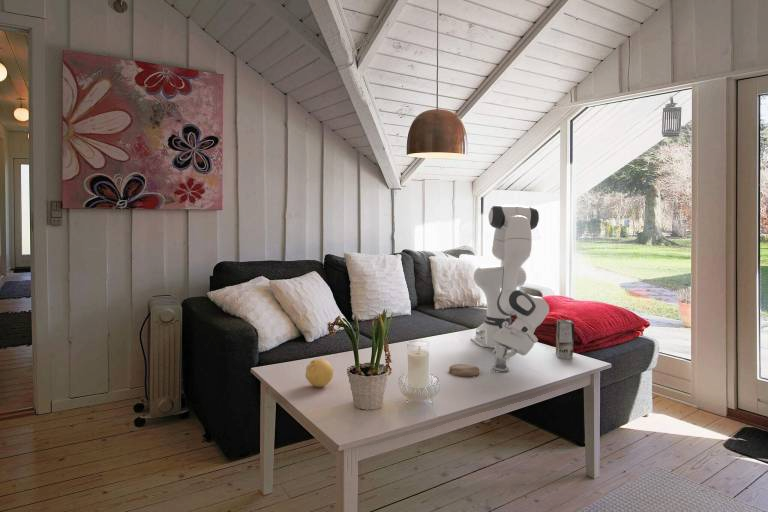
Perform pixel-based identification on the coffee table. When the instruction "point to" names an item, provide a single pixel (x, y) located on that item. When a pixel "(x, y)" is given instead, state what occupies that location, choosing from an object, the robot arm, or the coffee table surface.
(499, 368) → the knob
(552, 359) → the coffee table surface
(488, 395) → the coffee table surface
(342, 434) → the coffee table surface
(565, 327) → the coffee box
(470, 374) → the base disc
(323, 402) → the coffee table surface
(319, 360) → the stress ball
